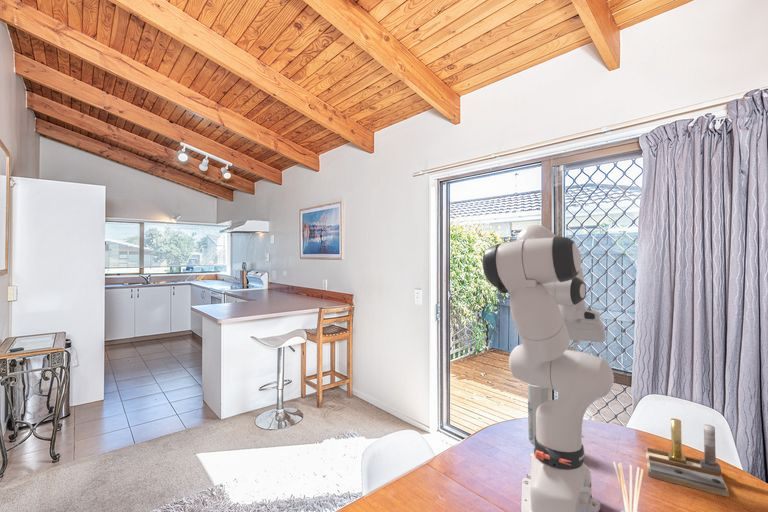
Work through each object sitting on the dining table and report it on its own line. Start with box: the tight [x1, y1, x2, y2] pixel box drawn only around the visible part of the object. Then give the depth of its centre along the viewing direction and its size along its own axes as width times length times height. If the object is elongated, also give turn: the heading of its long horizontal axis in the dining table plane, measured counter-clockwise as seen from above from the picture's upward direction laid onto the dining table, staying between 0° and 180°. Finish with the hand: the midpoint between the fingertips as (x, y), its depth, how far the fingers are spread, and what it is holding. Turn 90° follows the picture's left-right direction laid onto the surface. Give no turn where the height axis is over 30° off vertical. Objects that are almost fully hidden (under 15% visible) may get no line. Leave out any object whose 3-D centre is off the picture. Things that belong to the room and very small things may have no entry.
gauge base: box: [645, 424, 730, 498], centre depth 105 cm, size 14×17×14 cm
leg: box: [667, 417, 686, 464], centre depth 108 cm, size 4×4×12 cm
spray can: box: [527, 383, 549, 446], centre depth 124 cm, size 6×6×20 cm
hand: (571, 352), depth 123 cm, fingers closed
